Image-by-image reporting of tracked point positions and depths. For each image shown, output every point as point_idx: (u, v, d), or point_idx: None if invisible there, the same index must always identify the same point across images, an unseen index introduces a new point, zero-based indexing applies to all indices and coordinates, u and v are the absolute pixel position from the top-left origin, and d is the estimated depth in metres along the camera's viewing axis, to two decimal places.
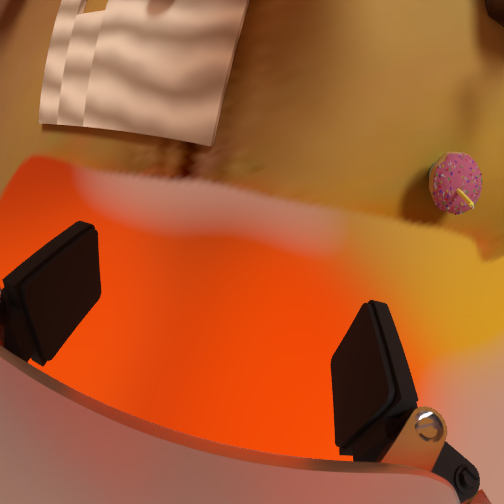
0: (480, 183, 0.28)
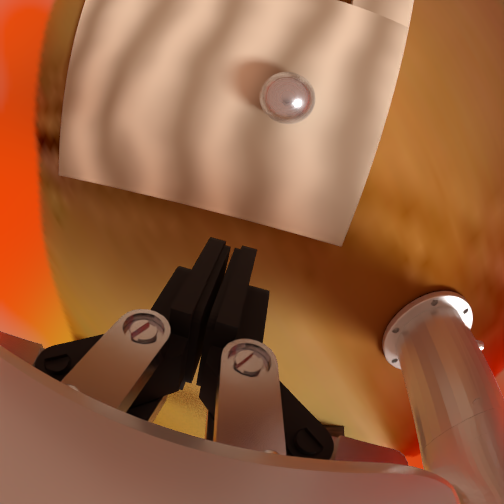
0: None
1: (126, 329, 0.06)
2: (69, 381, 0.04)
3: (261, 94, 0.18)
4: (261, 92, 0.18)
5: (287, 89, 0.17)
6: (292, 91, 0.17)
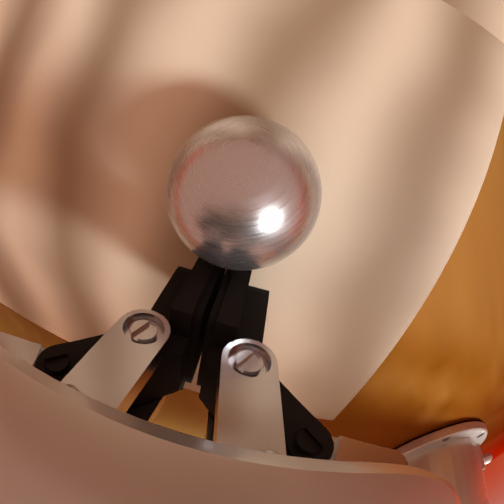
0: None
1: (126, 329, 0.06)
2: (69, 381, 0.04)
3: (168, 171, 0.07)
4: (170, 166, 0.07)
5: (243, 136, 0.06)
6: (259, 142, 0.06)
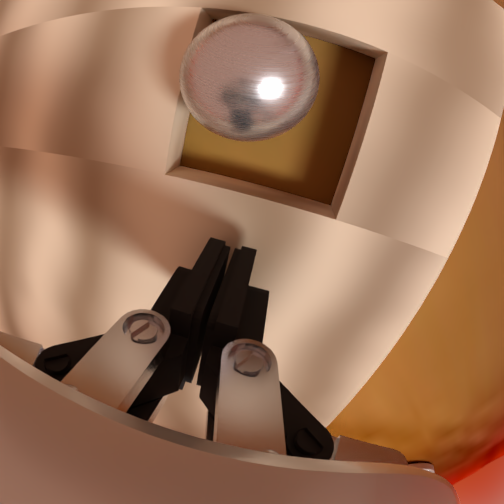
0: None
1: (126, 329, 0.06)
2: (69, 381, 0.04)
3: (189, 44, 0.06)
4: None
5: (261, 15, 0.06)
6: (273, 19, 0.06)
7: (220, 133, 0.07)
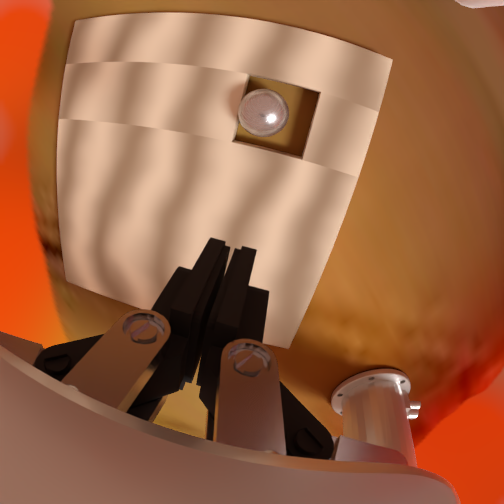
0: None
1: (126, 329, 0.06)
2: (69, 381, 0.04)
3: (240, 104, 0.20)
4: (240, 102, 0.20)
5: (264, 95, 0.19)
6: (269, 96, 0.19)
7: None
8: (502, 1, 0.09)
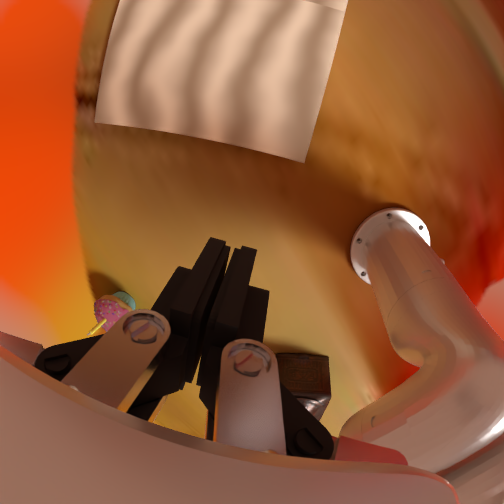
0: None
1: (126, 329, 0.06)
2: (69, 381, 0.04)
3: None
4: None
5: None
6: None
7: None
8: None
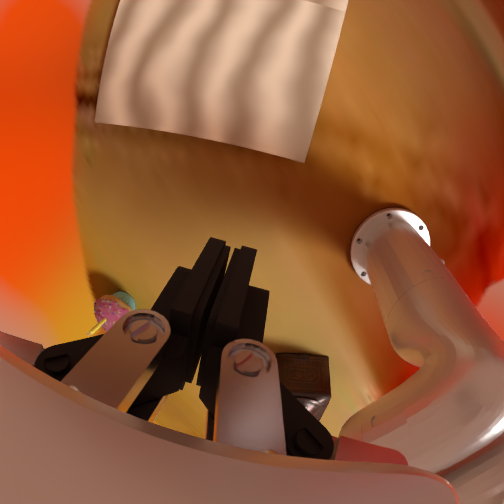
0: None
1: (126, 329, 0.06)
2: (69, 381, 0.04)
3: None
4: None
5: None
6: None
7: None
8: None
